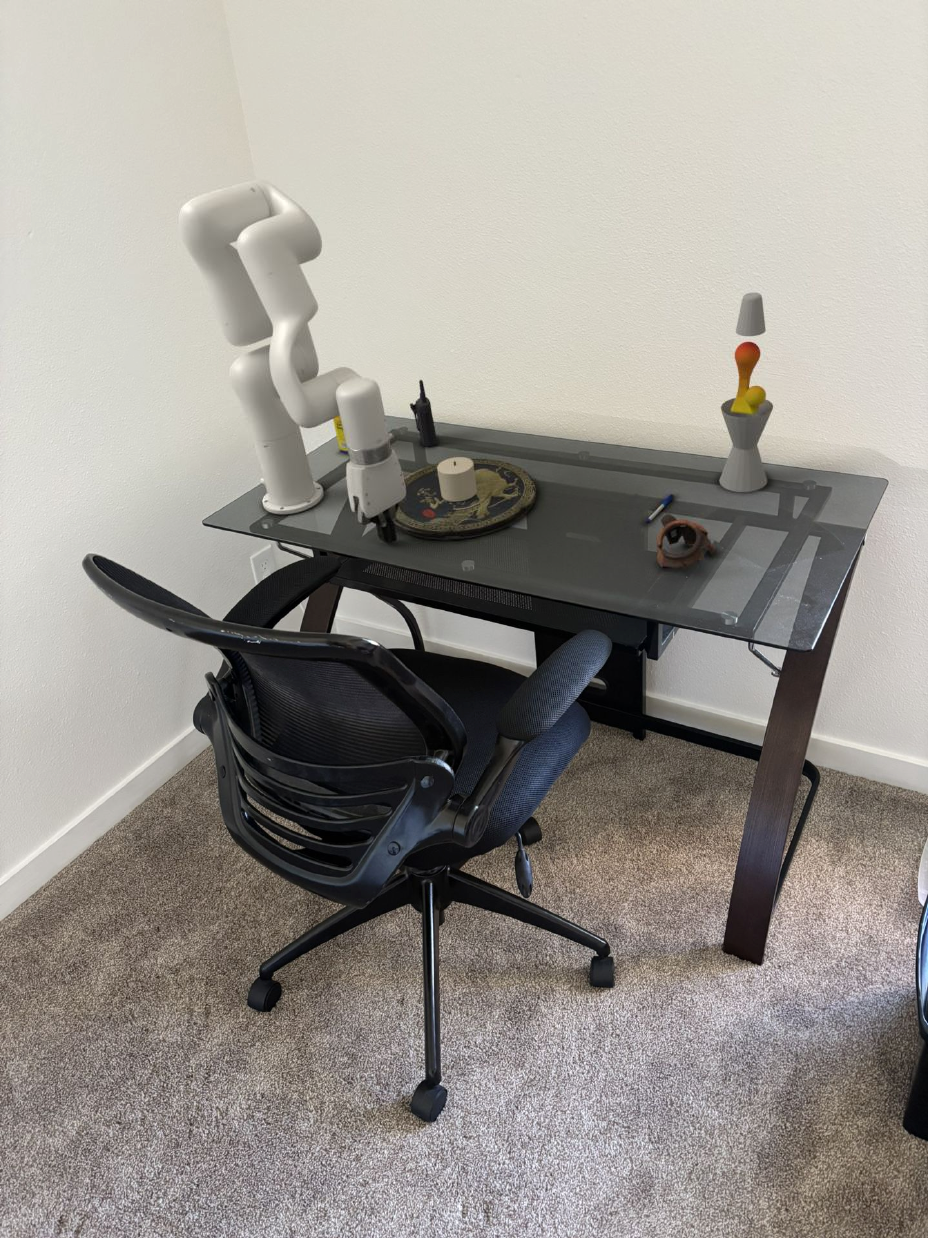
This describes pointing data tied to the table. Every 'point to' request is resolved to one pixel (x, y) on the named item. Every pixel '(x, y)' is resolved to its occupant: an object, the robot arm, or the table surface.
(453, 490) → the candle
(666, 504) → the ballpoint pen
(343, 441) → the supplement box
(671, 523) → the pottery mug
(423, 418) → the two-way radio
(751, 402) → the lava lamp
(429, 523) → the decorative plate
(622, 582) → the table surface
